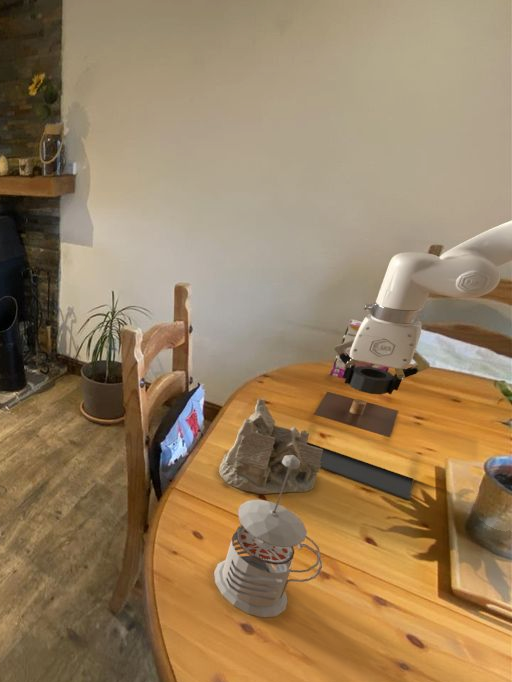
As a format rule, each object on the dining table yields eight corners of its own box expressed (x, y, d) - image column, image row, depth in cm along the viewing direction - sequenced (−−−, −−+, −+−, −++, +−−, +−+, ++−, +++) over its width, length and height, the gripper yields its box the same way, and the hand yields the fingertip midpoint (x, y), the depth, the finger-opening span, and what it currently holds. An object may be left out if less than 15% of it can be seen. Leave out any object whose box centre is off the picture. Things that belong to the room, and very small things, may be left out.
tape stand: (396, 414, 99) (403, 399, 97) (388, 441, 91) (395, 426, 89) (325, 395, 108) (330, 381, 106) (312, 418, 100) (317, 403, 98)
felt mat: (418, 453, 87) (419, 452, 87) (408, 500, 76) (409, 499, 76) (315, 421, 99) (316, 420, 98) (294, 458, 88) (295, 456, 88)
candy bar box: (328, 379, 115) (347, 324, 108) (331, 372, 119) (349, 318, 111) (380, 391, 108) (404, 333, 101) (382, 383, 112) (405, 327, 104)
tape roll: (390, 385, 95) (395, 372, 94) (385, 397, 91) (391, 383, 90) (352, 376, 100) (356, 363, 98) (345, 387, 96) (350, 374, 94)
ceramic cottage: (207, 473, 85) (228, 412, 78) (240, 440, 94) (261, 384, 87) (293, 519, 75) (325, 454, 68) (320, 477, 84) (351, 417, 77)
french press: (217, 549, 69) (249, 426, 58) (300, 578, 64) (354, 449, 52) (210, 598, 62) (246, 468, 50) (304, 636, 56) (368, 500, 45)
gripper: (340, 310, 91) (318, 381, 99) (453, 327, 80) (417, 405, 87) (348, 301, 96) (326, 370, 104) (455, 316, 84) (421, 391, 92)
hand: (368, 385), depth 95 cm, fingers closed on tape roll, 7 cm apart
